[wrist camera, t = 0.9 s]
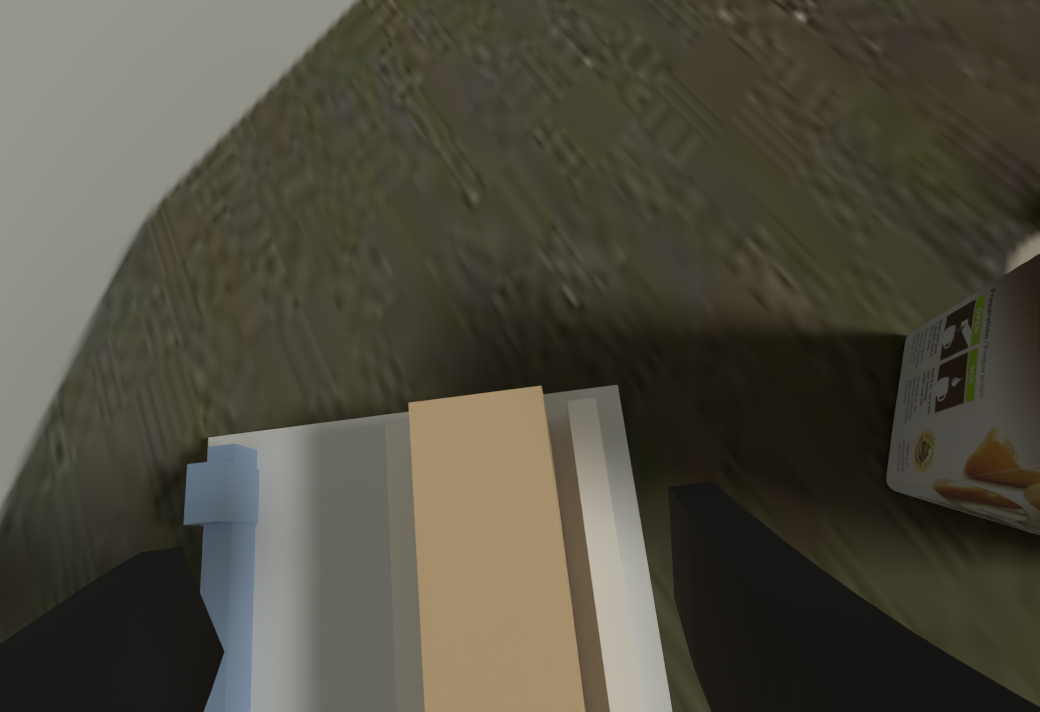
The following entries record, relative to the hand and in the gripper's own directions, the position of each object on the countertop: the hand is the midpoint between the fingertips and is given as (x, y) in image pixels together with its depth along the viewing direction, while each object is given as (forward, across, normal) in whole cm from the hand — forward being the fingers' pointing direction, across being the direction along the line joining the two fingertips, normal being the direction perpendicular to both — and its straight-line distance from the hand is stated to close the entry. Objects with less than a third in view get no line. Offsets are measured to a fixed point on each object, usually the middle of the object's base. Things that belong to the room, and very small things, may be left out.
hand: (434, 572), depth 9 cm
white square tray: (+9, +3, +10) cm, 14 cm away
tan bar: (+9, 0, +10) cm, 13 cm away
